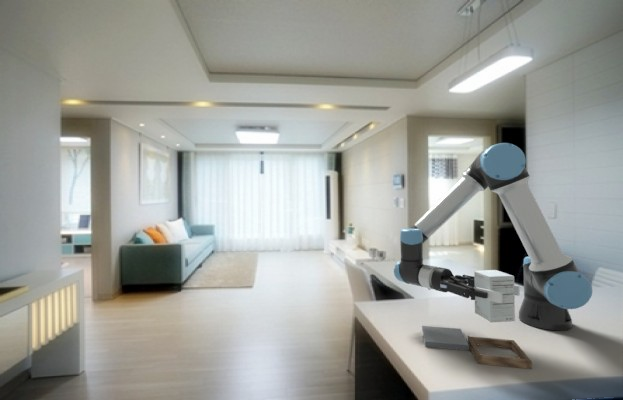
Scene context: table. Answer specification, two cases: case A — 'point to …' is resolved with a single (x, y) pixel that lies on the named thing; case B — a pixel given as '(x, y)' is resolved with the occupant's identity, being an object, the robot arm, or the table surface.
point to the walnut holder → (498, 360)
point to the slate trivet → (444, 338)
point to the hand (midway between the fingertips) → (510, 294)
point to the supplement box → (500, 284)
